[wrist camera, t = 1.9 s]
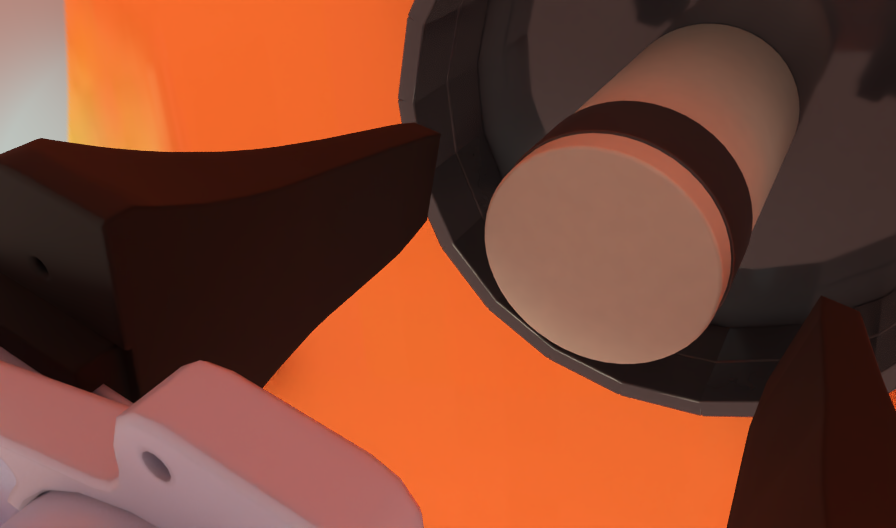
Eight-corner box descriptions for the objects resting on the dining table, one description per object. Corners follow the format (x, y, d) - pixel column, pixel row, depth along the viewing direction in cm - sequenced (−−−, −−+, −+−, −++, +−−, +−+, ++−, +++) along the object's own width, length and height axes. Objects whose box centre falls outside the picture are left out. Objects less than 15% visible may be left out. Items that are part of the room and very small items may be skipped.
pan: (1257, -122, 13) (1344, -89, 10) (853, 407, 21) (837, 507, 18) (529, -277, 17) (441, -286, 14) (441, 215, 26) (376, 272, 23)
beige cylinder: (837, 56, 17) (773, 210, 11) (755, 217, 19) (671, 406, 14) (650, -4, 18) (507, 103, 12) (599, 153, 21) (463, 301, 15)
